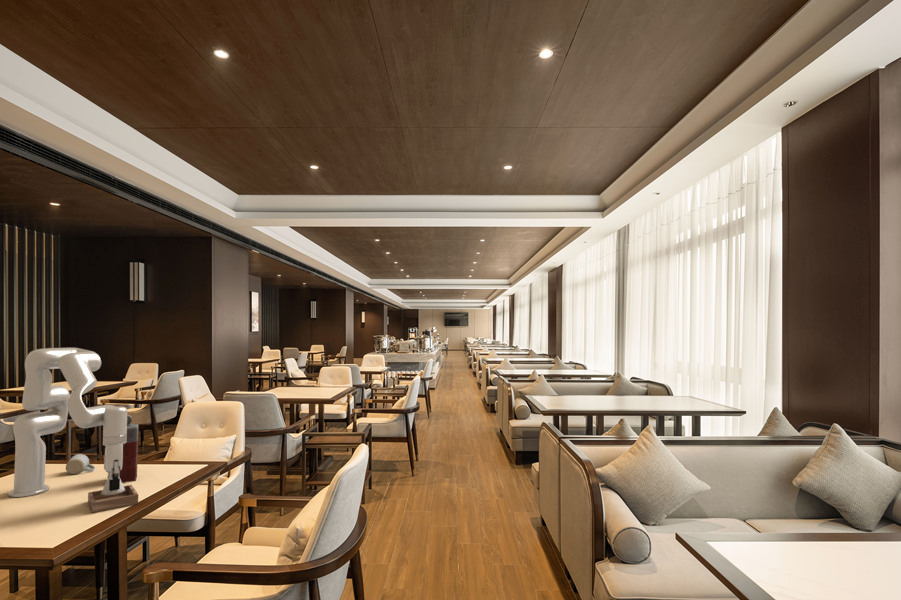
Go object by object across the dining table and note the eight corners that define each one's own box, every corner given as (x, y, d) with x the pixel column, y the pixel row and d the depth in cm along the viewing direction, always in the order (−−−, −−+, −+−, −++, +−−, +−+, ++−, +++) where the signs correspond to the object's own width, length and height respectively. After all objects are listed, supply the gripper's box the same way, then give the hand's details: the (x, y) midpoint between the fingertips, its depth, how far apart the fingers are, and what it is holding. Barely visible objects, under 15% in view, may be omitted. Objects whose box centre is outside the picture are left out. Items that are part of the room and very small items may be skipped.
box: (87, 501, 188) (88, 492, 188) (131, 493, 197) (131, 484, 197) (92, 513, 176) (92, 503, 176) (138, 504, 185) (138, 494, 185)
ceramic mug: (64, 476, 222) (65, 458, 222) (69, 471, 229) (70, 454, 230) (92, 473, 226) (93, 456, 227) (96, 468, 234) (97, 452, 234)
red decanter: (137, 474, 223) (139, 412, 225) (135, 480, 214) (137, 415, 215) (113, 477, 219) (115, 414, 221) (111, 484, 209) (113, 417, 211)
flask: (112, 496, 182) (113, 469, 183) (96, 495, 184) (97, 468, 184) (129, 490, 189) (130, 464, 190) (113, 489, 191) (114, 463, 191)
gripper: (100, 437, 192) (98, 485, 191) (105, 445, 179) (104, 495, 178) (123, 434, 197) (121, 481, 195) (130, 441, 184) (128, 491, 183)
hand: (113, 487), depth 187 cm, fingers closed on flask, 5 cm apart
